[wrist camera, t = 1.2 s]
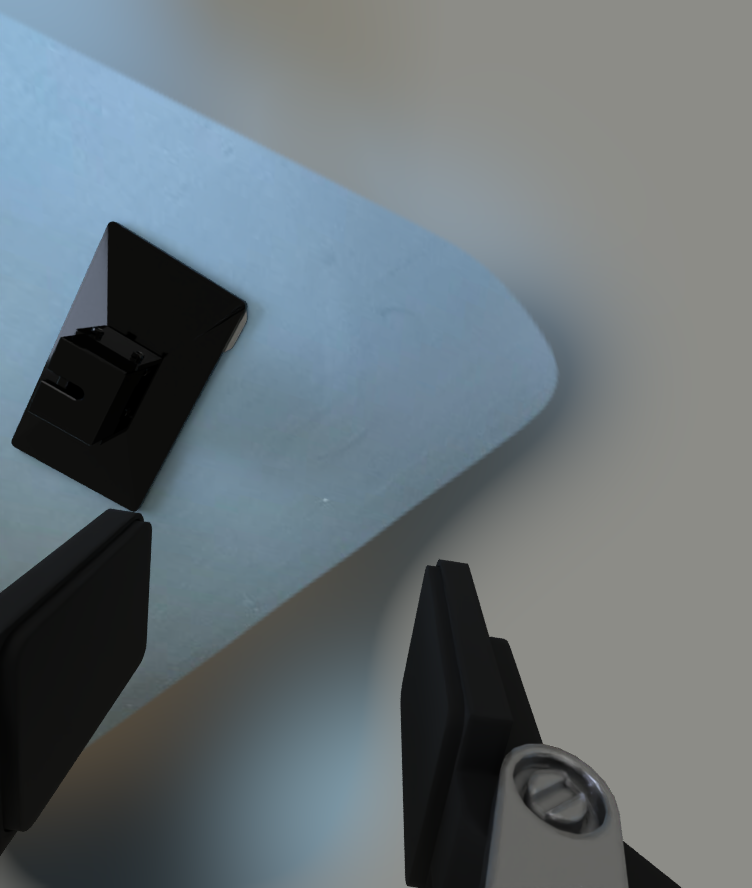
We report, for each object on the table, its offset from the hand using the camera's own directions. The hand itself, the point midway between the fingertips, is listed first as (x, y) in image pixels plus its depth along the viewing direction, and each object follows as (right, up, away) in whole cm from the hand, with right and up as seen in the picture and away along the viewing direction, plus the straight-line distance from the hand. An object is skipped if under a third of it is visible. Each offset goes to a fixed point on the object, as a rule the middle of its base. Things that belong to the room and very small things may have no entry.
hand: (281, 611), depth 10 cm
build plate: (-10, +7, +17) cm, 21 cm away
